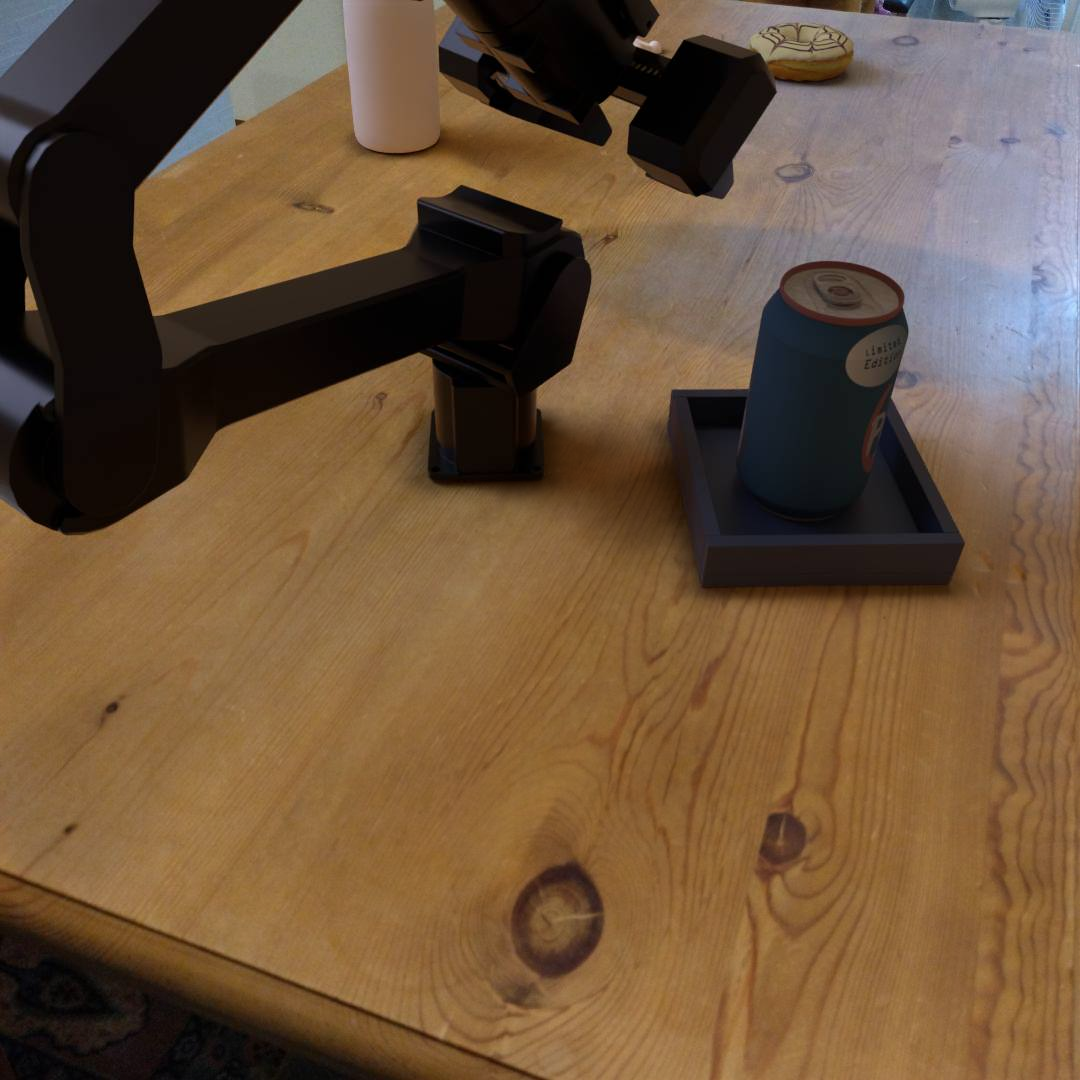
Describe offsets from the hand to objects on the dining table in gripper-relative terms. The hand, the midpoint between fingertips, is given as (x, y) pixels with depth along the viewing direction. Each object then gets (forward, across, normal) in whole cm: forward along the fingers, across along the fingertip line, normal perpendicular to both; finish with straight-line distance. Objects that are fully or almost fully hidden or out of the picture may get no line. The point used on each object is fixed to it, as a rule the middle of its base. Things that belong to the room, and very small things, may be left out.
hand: (663, 163), depth 59 cm
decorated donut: (+48, +32, -29) cm, 65 cm away
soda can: (+7, -14, +11) cm, 20 cm away
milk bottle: (+17, +42, +2) cm, 45 cm away
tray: (+8, -14, +11) cm, 20 cm away
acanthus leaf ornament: (+41, +47, -22) cm, 66 cm away
